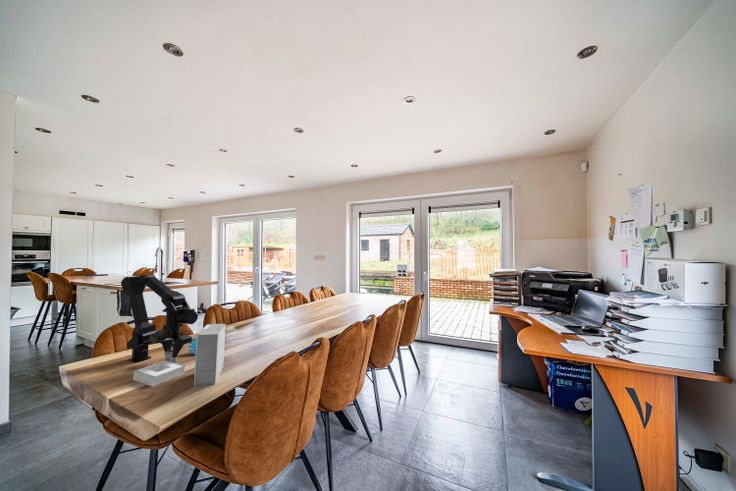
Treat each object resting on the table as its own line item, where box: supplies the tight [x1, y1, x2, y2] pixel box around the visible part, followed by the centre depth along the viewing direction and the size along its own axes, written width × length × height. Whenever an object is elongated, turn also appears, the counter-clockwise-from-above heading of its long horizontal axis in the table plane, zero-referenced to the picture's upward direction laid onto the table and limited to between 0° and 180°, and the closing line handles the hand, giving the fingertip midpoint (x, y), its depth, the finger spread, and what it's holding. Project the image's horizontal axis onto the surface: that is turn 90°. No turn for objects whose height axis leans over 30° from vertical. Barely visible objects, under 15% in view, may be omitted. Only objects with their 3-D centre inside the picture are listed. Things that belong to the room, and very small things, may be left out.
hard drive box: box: [193, 323, 226, 387], centre depth 111 cm, size 16×8×20 cm, turn 18°
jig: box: [132, 360, 186, 387], centre depth 109 cm, size 12×12×4 cm
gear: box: [187, 336, 197, 356], centre depth 137 cm, size 11×6×10 cm
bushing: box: [164, 348, 177, 363], centre depth 122 cm, size 5×5×6 cm
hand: (170, 356), depth 122 cm, fingers open, 5 cm apart
